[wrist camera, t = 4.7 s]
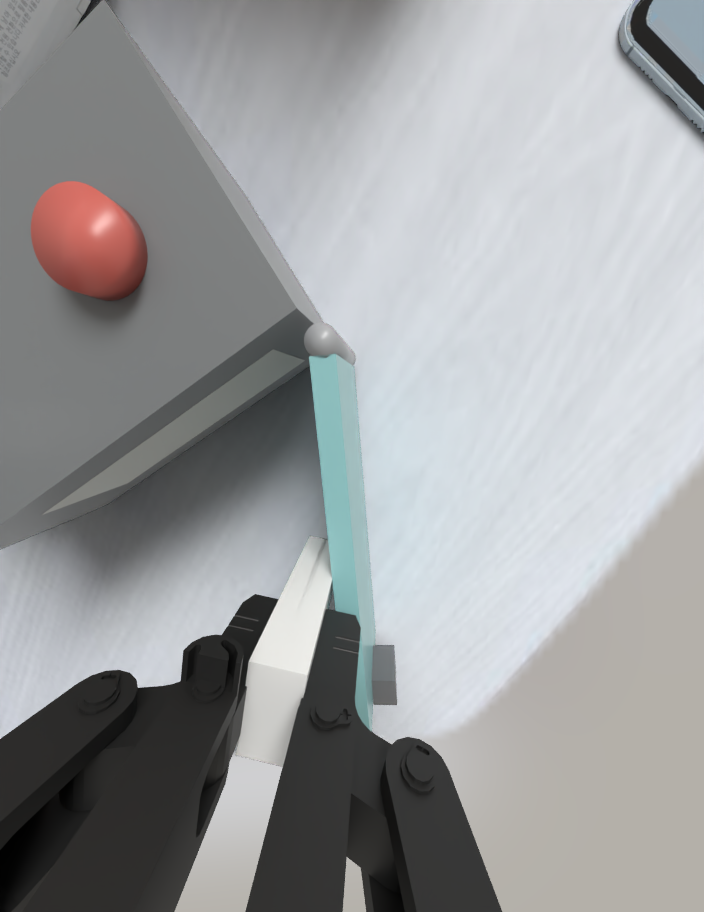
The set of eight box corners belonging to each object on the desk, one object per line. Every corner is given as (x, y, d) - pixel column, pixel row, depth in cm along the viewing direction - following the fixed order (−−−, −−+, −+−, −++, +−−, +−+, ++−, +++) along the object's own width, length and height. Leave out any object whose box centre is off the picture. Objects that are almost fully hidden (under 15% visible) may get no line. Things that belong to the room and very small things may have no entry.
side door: (394, 636, 18) (398, 755, 12) (359, 637, 18) (347, 753, 13) (374, 344, 15) (367, 317, 9) (333, 348, 16) (301, 324, 10)
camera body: (76, 526, 20) (-158, 630, 11) (-14, 410, 19) (-343, 428, 10) (338, 346, 16) (288, 300, 8) (244, 194, 16) (71, -46, 7)
